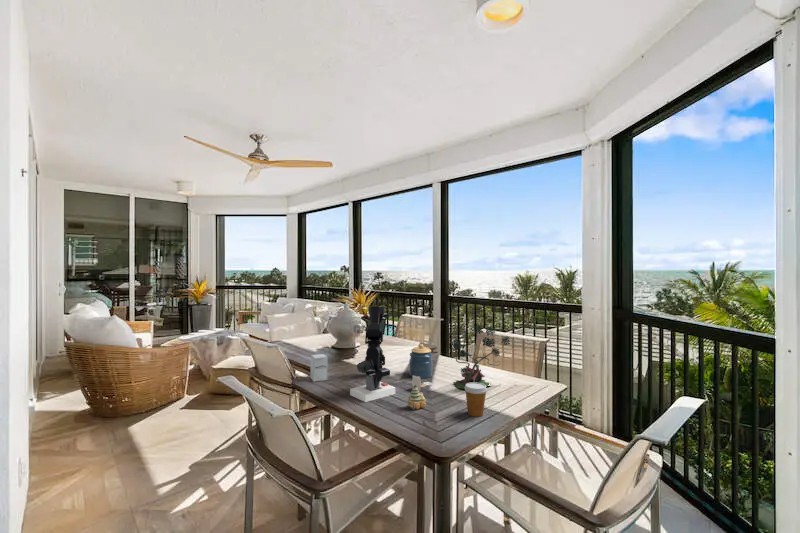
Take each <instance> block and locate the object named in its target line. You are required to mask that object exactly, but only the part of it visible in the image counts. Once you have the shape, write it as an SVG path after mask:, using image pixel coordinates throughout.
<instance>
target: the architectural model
mask: <svg viewBox="0 0 800 533" xmlns="http://www.w3.org/2000/svg"><path fill="white" fill-rule="evenodd" d="M419 377H420V376H419ZM419 377H416V376H413V377H412V382H411V383H412V385H411V386H412V388H411V390H412V389H413V388H414V385H417V388H418V391H419V392H421V388H422V387H426V386H427V384H426V383H424V382H423V381H421V378H419Z"/></svg>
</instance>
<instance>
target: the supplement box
mask: <svg viewBox="0 0 800 533" xmlns="http://www.w3.org/2000/svg"><path fill="white" fill-rule="evenodd" d="M328 359H329V358H328V356H327V355H326V354H323V353H322V354H310V379H311V380H312V381H313V382H321V381H327V380H328Z"/></svg>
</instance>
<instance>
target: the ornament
mask: <svg viewBox="0 0 800 533" xmlns="http://www.w3.org/2000/svg"><path fill="white" fill-rule="evenodd" d="M406 402H407V404H406V405H407V407H408V408H410V409H412V410H419V409H424V408H425V407H426V405H427V400H426V398H425V396H424V393H423V392H422V391H420V392H419V391H418V388H417V385H414V388H413V389H412V388H411V392H410V395H409V396H408V399H407V401H406Z"/></svg>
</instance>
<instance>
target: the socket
mask: <svg viewBox="0 0 800 533" xmlns="http://www.w3.org/2000/svg"><path fill="white" fill-rule="evenodd" d="M349 390H350V391H349V395H350V396H351V397H353V398H356V399H358V400H360V401H362V402H364V403H367V402H371V401H374V400H378V399H381V398H385V397H388V396H389V397H390V396H392V395H396V387H395V386H393V385H390V384H389V383H386V382H382V381H380V389H378V390H374V391H369V390H367V389H366V384H363V385H359V386H355V387H352V388H349Z"/></svg>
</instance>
